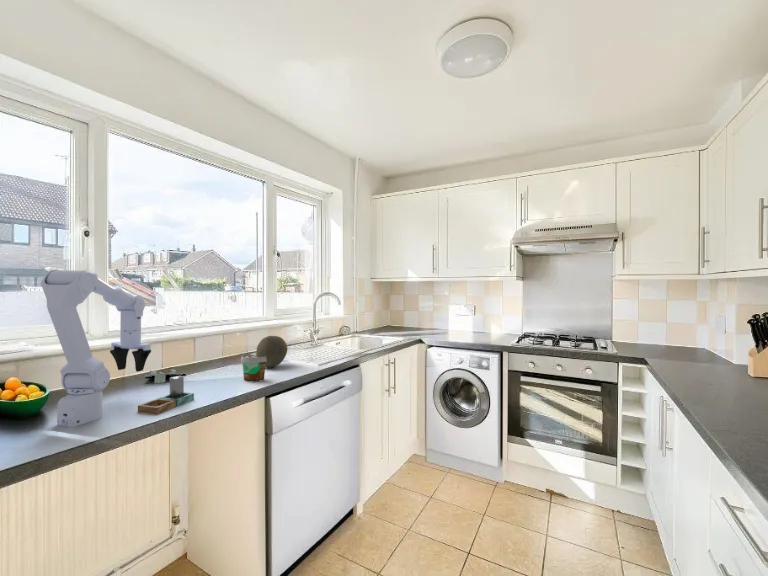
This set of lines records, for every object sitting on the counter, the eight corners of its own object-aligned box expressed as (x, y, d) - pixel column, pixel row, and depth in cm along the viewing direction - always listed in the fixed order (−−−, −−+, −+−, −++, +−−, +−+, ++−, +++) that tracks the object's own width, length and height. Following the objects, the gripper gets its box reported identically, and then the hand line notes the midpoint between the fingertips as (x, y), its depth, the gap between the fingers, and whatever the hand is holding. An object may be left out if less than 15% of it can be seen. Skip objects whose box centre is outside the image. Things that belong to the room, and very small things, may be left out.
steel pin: (177, 404, 115) (176, 379, 115) (166, 403, 116) (166, 378, 116) (186, 400, 119) (186, 376, 119) (176, 399, 120) (176, 375, 120)
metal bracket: (181, 367, 145) (138, 370, 140) (180, 382, 144) (136, 385, 139) (187, 370, 158) (147, 372, 153) (186, 383, 157) (146, 386, 152)
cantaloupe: (278, 371, 164) (279, 338, 164) (250, 369, 166) (250, 337, 166) (291, 364, 178) (291, 334, 178) (265, 363, 180) (265, 333, 180)
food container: (233, 379, 149) (234, 355, 149) (245, 376, 154) (246, 353, 154) (255, 383, 143) (255, 359, 143) (266, 380, 149) (266, 356, 148)
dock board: (155, 418, 106) (155, 408, 106) (136, 415, 108) (136, 406, 108) (194, 401, 121) (194, 393, 121) (177, 399, 123) (177, 391, 123)
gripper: (158, 329, 123) (158, 368, 123) (125, 328, 127) (124, 366, 127) (139, 332, 116) (139, 373, 116) (105, 330, 120) (105, 370, 120)
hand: (130, 370), depth 121 cm, fingers open, 7 cm apart
